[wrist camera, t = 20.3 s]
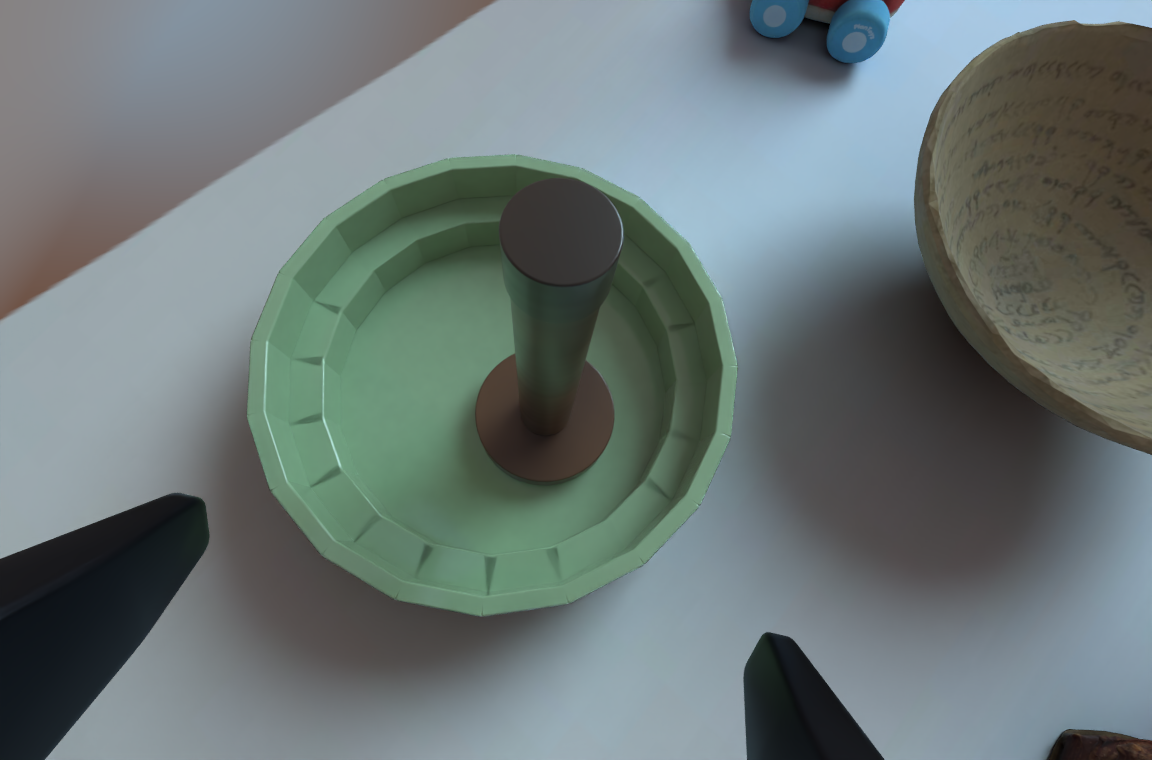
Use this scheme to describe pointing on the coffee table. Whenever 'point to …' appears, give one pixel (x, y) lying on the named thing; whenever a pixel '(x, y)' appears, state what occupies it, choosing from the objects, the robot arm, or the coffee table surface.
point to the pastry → (1100, 746)
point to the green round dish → (451, 386)
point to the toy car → (830, 22)
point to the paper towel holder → (552, 334)
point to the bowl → (1050, 219)
